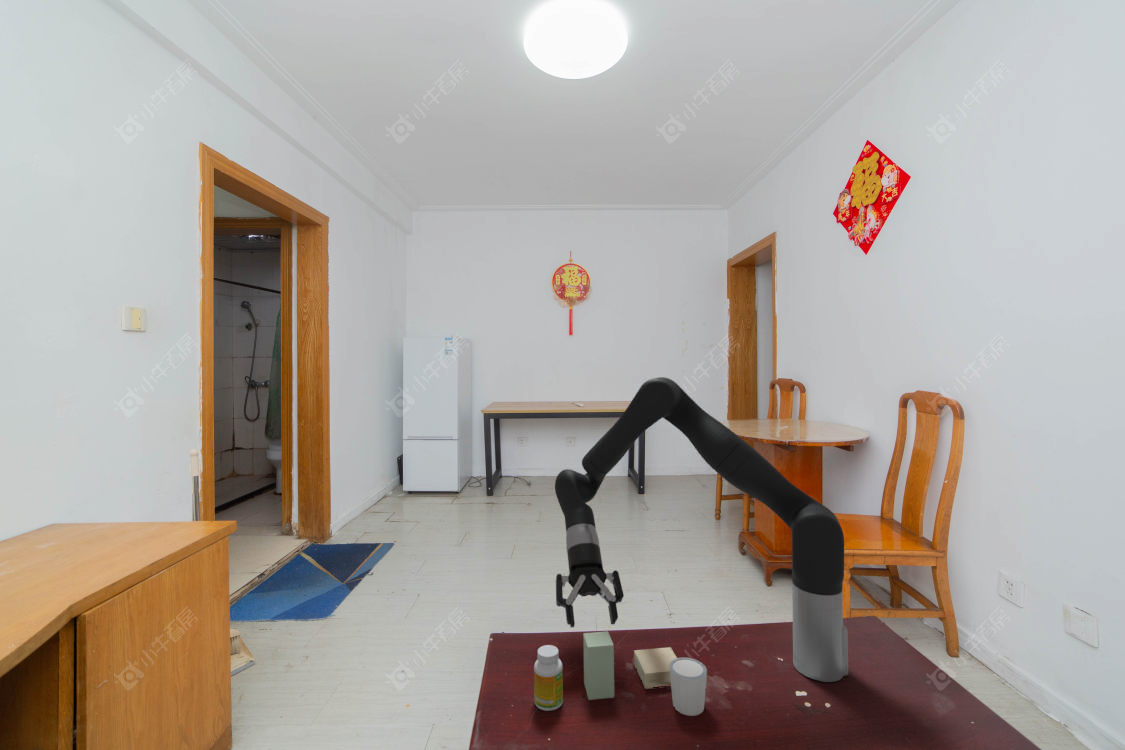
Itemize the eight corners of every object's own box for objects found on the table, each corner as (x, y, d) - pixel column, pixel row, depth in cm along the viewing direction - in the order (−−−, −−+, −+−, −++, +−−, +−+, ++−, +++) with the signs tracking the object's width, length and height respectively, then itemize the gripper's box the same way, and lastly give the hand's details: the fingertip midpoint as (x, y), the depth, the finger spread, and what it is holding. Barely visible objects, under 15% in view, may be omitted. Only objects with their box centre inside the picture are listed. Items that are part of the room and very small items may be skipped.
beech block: (670, 661, 104) (670, 647, 104) (684, 685, 96) (684, 669, 96) (634, 664, 103) (633, 650, 103) (645, 688, 95) (645, 673, 95)
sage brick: (608, 680, 98) (608, 631, 98) (614, 697, 93) (613, 645, 93) (584, 683, 97) (583, 633, 97) (588, 699, 92) (587, 647, 92)
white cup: (686, 723, 86) (686, 683, 86) (661, 700, 92) (661, 663, 92) (715, 710, 89) (715, 672, 89) (689, 688, 95) (689, 653, 95)
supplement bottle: (559, 713, 89) (559, 660, 89) (531, 709, 90) (530, 657, 90) (565, 694, 94) (564, 644, 94) (538, 691, 95) (537, 641, 95)
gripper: (553, 543, 108) (560, 621, 97) (616, 539, 110) (630, 615, 98) (551, 558, 113) (557, 633, 102) (611, 554, 115) (624, 628, 104)
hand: (593, 624), depth 100 cm, fingers open, 8 cm apart
